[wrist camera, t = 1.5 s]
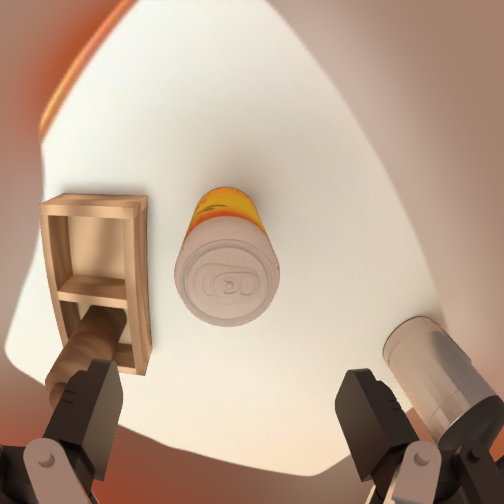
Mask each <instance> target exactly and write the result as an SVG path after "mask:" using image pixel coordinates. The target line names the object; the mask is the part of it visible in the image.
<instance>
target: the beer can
mask: <svg viewBox="0 0 504 504" xmlns="http://www.w3.org/2000/svg"><path fill="white" fill-rule="evenodd" d="M174 278H175V284H176V287H177V290H178V293H179V295H180V296H181V298H182V300H183V302H184V304H185V306H186V307H187V308H188V310H189V311H190V312H191V313H192V314H193V315H195V316H196V317H197V318H199V319H200V320H202V321H204V322H206V323H209V324H212V325H215V326H222V327H233V326H239V325H243V324H246V323H248V322H251V321H253V320H254V319H256V318H257V317H259V316H260V315H261V314H262V313H263V312H264V311H265V310H266V309H267V308H268V307H269V305H270V303H271V302H272V300H273V297H274V295H275V293H276V291H277V288H278V285H279V280H280V268H279V263H278V260H277V257H276V255H275V252H274V250H273V248H272V245H271V243H270V241H269V238H268V236H267V234H266V231H265V229H264V227H263V225H262V222H261V220H260V218H259V215H258V213H257V211H256V209H255V206H254V204H253V202H252V201H251V200H250V198H249V197H248V196H247V195H246V194H244V193H243V192H241V191H239V190H237V189H233V188H218V189H215V190H212V191H210V192H209V193H207V194H206V195H204V196H203V197H202V198H201V200H200V201H199V203H198V204H197V207H196V209H195V212H194V214H193V217H192V220H191V222H190V225H189V228H188V230H187V233H186V236H185V238H184V241H183V244H182V247H181V250H180V252H179V255H178V258H177V261H176V265H175V271H174Z"/></svg>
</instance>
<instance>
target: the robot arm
mask: <svg viewBox="0 0 504 504" xmlns="http://www.w3.org/2000/svg"><path fill="white" fill-rule="evenodd" d="M383 356H384V360H385V361H386V363H387V365H388V366H389V368H390V369H391V371H392V373H393V374H394V376H395V378H396V379H397V381H398V382H399V384H400V386H401V387H402V389H403V390H404V392H405V394H406V395H407V397H408V399H409V400H410V402H411V403H412V405H413V407H414V408H415V410H416V412H417V413H418V415H419V417H420V418H421V420H422V422H423V423H424V425H425V427H426V428H427V430H428V432H429V434H430V435H431V437H432V439H433V440H434V442H435V444H436V446H437V447H438V449H439V450H438V449H437V447H435V446H434V445H433V444H431V443H429V442H426V441H420V440H419V438H418V436H417V434H416V432H415V431H414V429H413V427H412V425H411V424H410V422H409V420H408V418H407V417H406V415H405V413H404V411H403V410H401V406H400V404H399V402H398V401H396V400H397V399H396V397H395V396H394V394H393V392H392V390H391V389H390V388H389V387H388V386H387V385H385V384H384V383H383V382H382V381H381V380H380V381H376V379H375V377H374V375H373V373H372V372H371V370H370V369H368V368H365V369H354V370H348V371H347V372H346V374H345V377H344V379H343V382H342V384H341V387H340V389H339V392H338V394H337V396H336V399H335V411H336V415H337V417H338V420H339V423H340V425H341V428H342V431H343V433H344V436H345V438H346V441H347V444H348V447H349V449H350V452H351V455H352V457H353V460H354V463H355V465H356V468H357V471H358V474H359V476H360V479H361V482H364V481H368V480H372V479H373V481H374V484H375V485H374V486H373V487H372V489H371V492H370V494H369V496H368V499H367V501H366V503H365V504H504V455H503V456H502V457H501V458H500V459H499V460H498V461H497V462H494V460H493V458H492V456H491V455H490V453H489V450H490V448H491V446H492V444H493V442H494V440H495V438H496V437H497V435H498V434H499V432H500V430H501V429H502V427H503V425H504V402H503V401H502V400H501V399H500V397H499V396H498V395H497V394H496V393H495V391H494V390H493V389H492V388H491V387H490V386H489V384H488V383H487V382H486V381H485V380H484V378H483V377H482V376H481V375H480V374H479V373H478V371H477V370H476V369H475V368H474V367H473V366H472V364H471V359H470V358H469V357H468V356H467V355H466V353H465V352H464V351H463V350H462V349H461V348H460V347H459V346H458V345H457V344H456V343H455V341H453V339H452V338H451V337H450V336H449V335H448V334H447V333H446V332H445V331H444V330H443V329H442V328H441V327H440V326H439V325H438V324H434V323H433V322H432V321H431V320H430V319H429V318H426V317H416V318H413V319H410V320H408V321H406V322H405V323H403V324H402V325H401V326H399V327H398V328H397V329H396V330H395V331H394V332H393V333H392V334H391V336H390V337H389V339H388V340H387V342H386V344H385V347H384V352H383ZM122 404H123V390H122V386H121V382H120V377H119V373H118V368H117V364H116V362H115V361H113V360H107V359H101V358H93V359H92V361H91V363H90V365H89V368H88V370H87V371H85V370H79V371H77V372H76V373H75V374H74V375H73V376H72V377H71V378H70V379H69V381H68V383H67V385H66V387H65V389H64V392H63V393H62V395H61V397H60V401H59V402H58V404H57V406H56V408H55V410H54V413H53V415H52V417H51V419H50V422H49V424H48V426H47V429H46V431H45V433H44V435H43V437H42V438H40V439H35V440H33V441H31V442H30V443H29V444H28V445H27V446H26V447H17V446H16V447H15V446H4V445H1V444H0V504H99V502H98V500H97V498H96V497H95V495H94V493H93V491H92V490H91V487H92V482H93V479H96V480H100V481H104V477H105V472H106V468H107V464H108V459H109V455H110V451H111V447H112V443H113V439H114V435H115V431H116V427H117V424H118V420H119V416H120V412H121V409H122Z"/></svg>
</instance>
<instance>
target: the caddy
mask: <svg viewBox="0 0 504 504" xmlns="http://www.w3.org/2000/svg"><path fill="white" fill-rule="evenodd" d="M39 213H40V225H41V235H42V244H43V252H44V259H45V266H46V272H47V278H48V284H49V289H50V294H51V299H52V304H53V308H54V313H55V317H56V321H57V325H58V329H59V333H60V337H61V341H62V344H63V350H62V351H61V353H60V355H59V356H58V358H57V360H56V362H55V363H54V365H53V367H52V368H51V370H50V372H49V374H48V375H47V377H46V379H45V385H46V388H47V390H48V392H49V393H50V397H49V399H50V404H51V406H52V408H53V409H54V410H55V408H56V406H57V404H58V402H59V401H60V397H61V395H62V393H63V392H64V389H65V387H66V385H67V383H68V381H69V379H70V378H71V377H72V376H73V375H74V374H75V373H76V372H77V371H79V370H85V371H87V370H88V368H89V365H90V363H91V361H92V359H93V358H101V359H107V360H113V361H115V362H116V364H117V368H118V372H121V373H127V374H134V375H142V376H145V374H146V370H147V366H148V362H149V359H150V355H151V351H152V342H151V330H150V317H149V300H148V278H147V196H126V195H97V194H61V195H59V196H56V197H54V198H52V199H50V200H48V201H45V202H43V203H41V204H39Z"/></svg>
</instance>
